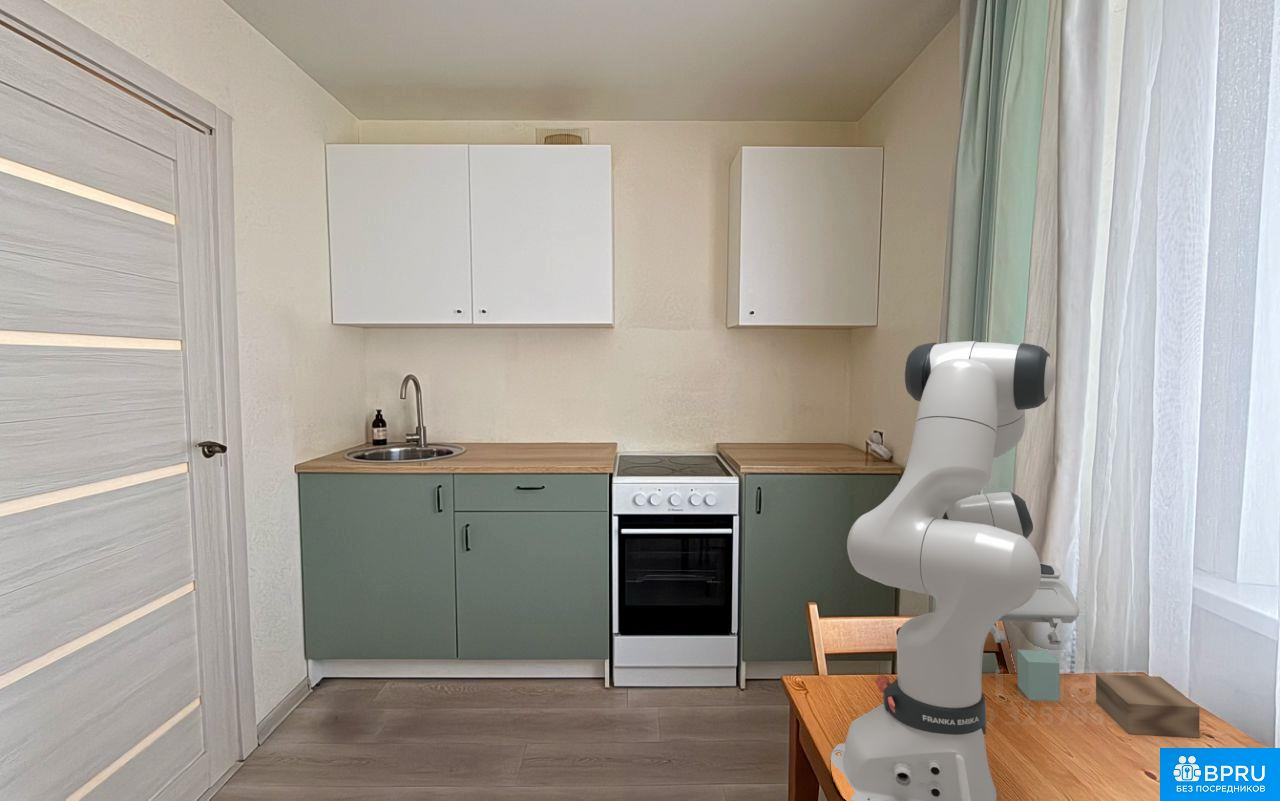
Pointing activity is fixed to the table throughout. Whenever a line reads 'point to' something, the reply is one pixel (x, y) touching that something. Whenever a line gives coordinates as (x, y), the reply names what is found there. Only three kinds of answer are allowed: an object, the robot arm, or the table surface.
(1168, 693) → the walnut block
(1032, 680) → the sage block
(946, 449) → the robot arm
